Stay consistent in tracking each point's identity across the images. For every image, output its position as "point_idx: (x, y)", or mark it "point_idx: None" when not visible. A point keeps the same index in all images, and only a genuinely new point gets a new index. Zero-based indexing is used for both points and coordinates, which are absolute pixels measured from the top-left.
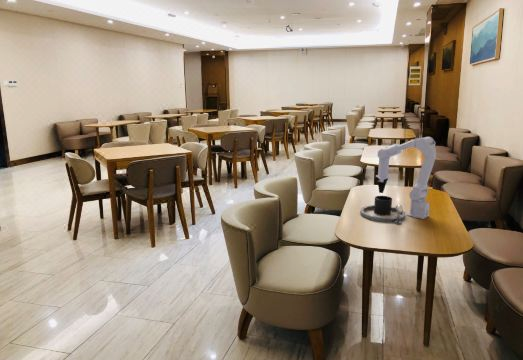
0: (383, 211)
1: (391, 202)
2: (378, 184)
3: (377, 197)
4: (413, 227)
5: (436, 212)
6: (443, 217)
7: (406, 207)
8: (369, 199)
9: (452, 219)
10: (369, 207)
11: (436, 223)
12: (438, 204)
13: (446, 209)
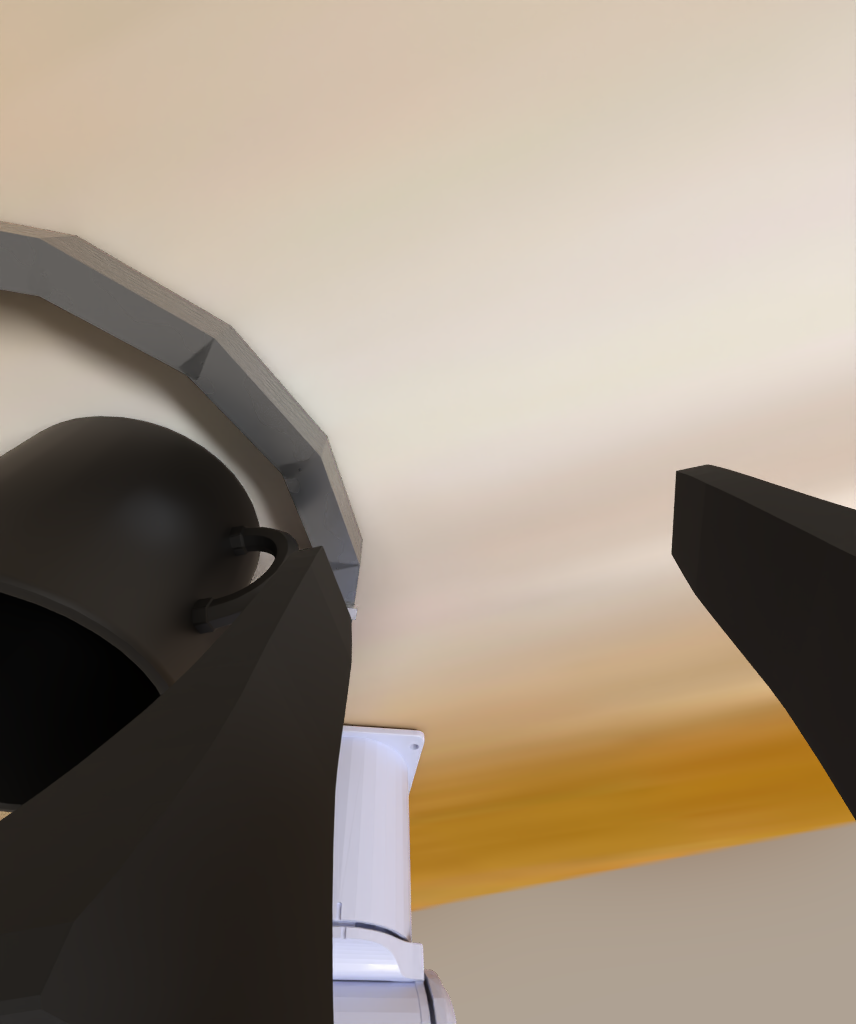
0: (11, 602)
1: (83, 759)
2: (50, 817)
3: (9, 569)
4: (5, 814)
5: (534, 825)
6: (430, 866)
7: (570, 654)
8: (847, 21)
9: (419, 896)
10: (94, 318)
11: None
12: (787, 794)
13: (653, 844)
